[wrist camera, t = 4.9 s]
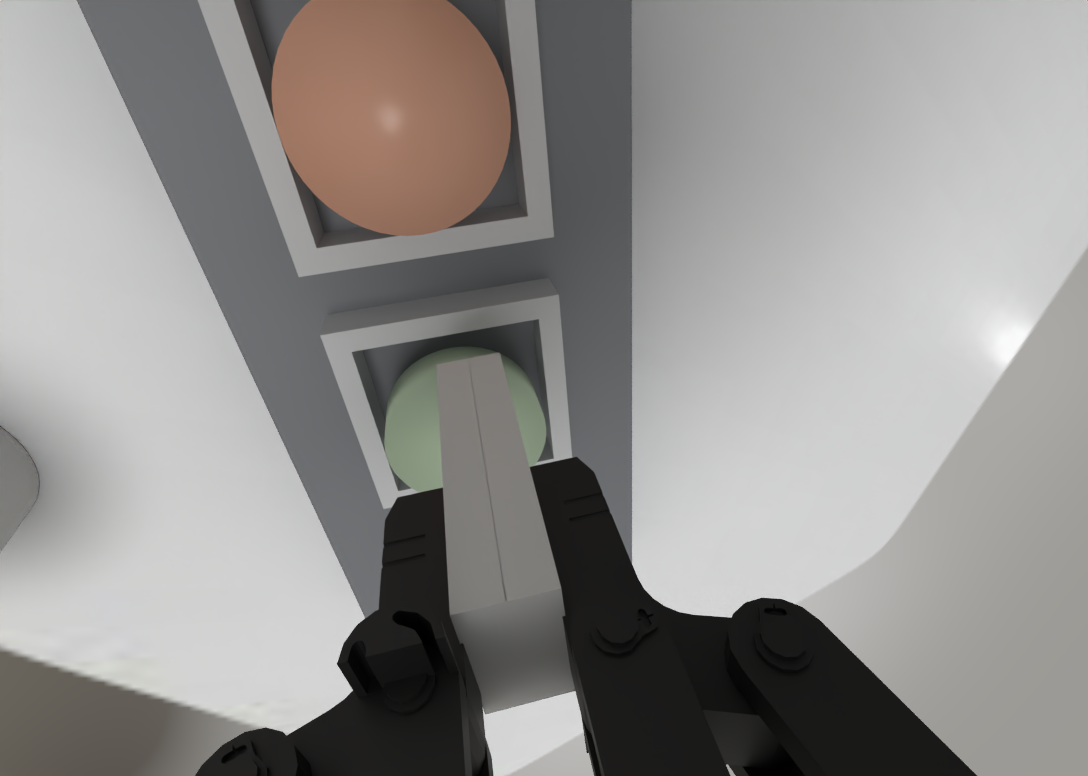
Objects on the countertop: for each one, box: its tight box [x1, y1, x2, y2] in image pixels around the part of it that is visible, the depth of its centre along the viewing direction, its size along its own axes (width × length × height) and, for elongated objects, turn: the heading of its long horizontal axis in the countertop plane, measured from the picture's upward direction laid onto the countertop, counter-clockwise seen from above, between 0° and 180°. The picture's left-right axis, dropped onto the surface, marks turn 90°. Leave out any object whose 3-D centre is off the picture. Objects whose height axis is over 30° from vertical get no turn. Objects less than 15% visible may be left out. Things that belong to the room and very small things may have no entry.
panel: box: [77, 0, 632, 618], centre depth 20 cm, size 13×28×4 cm, turn 5°
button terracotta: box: [272, 0, 511, 236], centre depth 12 cm, size 5×5×2 cm
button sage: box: [384, 347, 546, 492], centre depth 17 cm, size 5×5×2 cm
